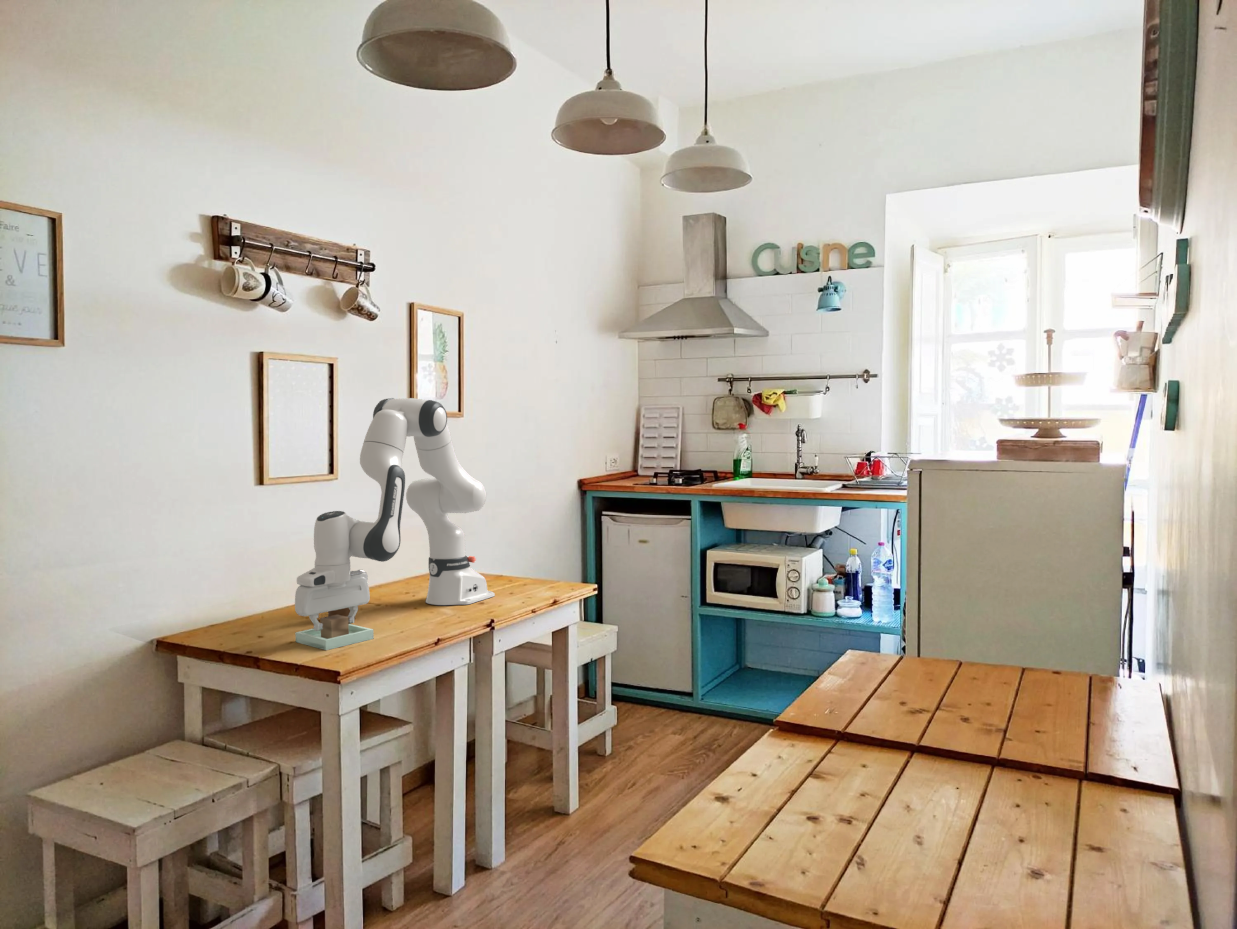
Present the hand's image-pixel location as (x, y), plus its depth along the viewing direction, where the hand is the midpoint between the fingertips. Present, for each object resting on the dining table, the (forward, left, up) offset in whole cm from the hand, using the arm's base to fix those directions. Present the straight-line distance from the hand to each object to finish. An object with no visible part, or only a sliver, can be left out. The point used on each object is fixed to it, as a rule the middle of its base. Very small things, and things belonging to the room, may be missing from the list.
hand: (334, 626), depth 224 cm
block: (0, 0, -3) cm, 3 cm away
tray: (0, 0, -4) cm, 4 cm away
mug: (-13, -20, -4) cm, 24 cm away
